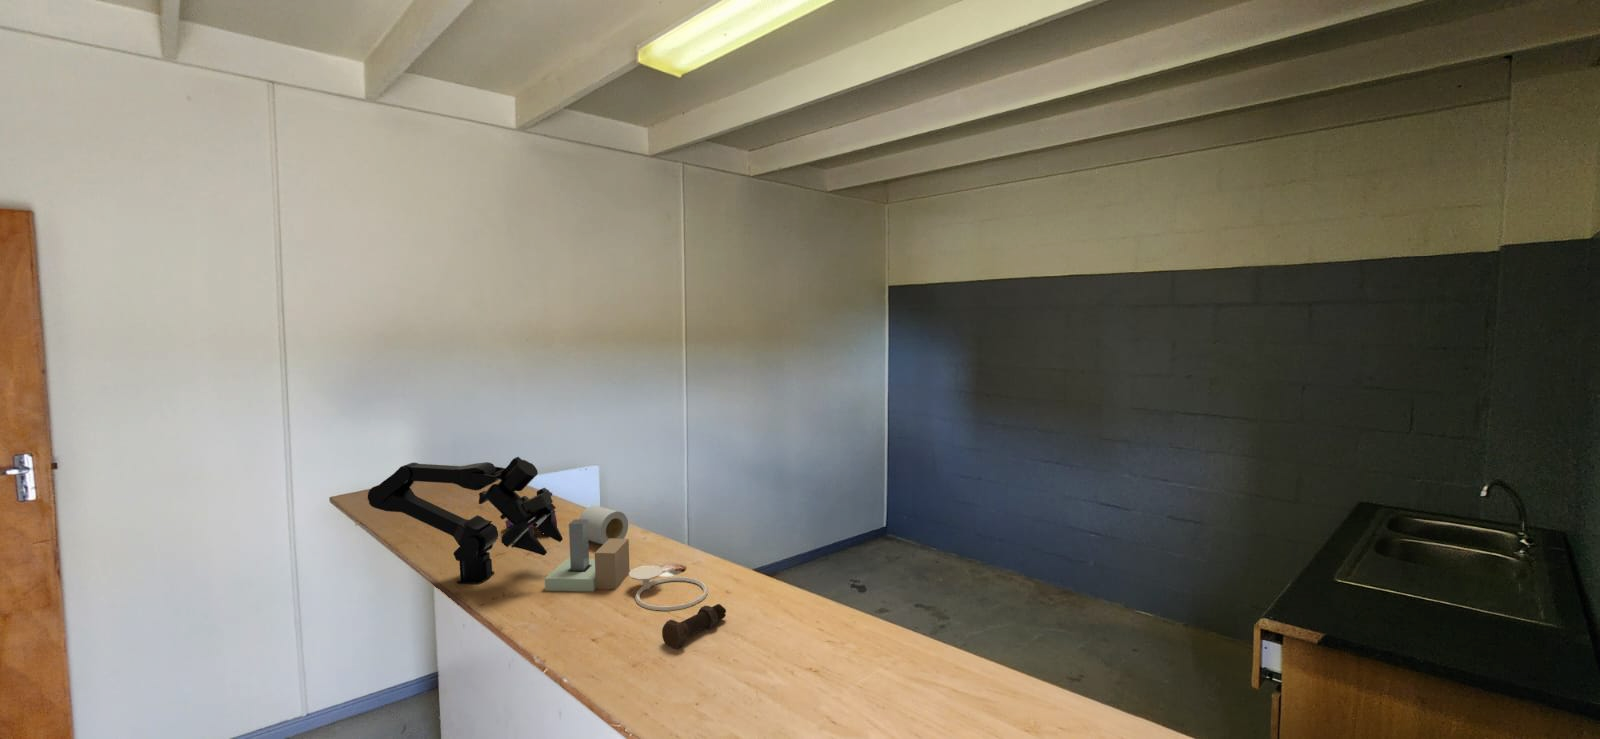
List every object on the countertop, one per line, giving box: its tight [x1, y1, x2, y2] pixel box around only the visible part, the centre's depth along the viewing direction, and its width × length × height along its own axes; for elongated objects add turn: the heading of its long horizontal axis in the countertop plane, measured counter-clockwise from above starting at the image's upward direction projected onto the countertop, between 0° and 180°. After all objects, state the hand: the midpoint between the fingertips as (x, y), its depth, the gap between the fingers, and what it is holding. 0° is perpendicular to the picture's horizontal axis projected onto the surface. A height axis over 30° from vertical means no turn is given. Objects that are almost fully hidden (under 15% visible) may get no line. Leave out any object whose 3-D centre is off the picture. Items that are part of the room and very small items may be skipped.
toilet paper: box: [578, 505, 629, 546], centre depth 188 cm, size 10×10×10 cm
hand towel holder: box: [628, 564, 709, 612], centre depth 154 cm, size 17×4×21 cm
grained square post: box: [568, 519, 590, 572], centre depth 162 cm, size 3×3×15 cm
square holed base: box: [544, 538, 631, 593], centre depth 162 cm, size 17×13×9 cm
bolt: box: [661, 603, 727, 650], centre depth 135 cm, size 6×5×15 cm
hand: (553, 547), depth 162 cm, fingers open, 9 cm apart
